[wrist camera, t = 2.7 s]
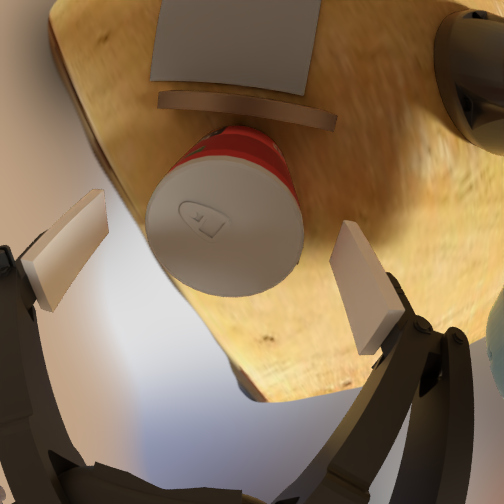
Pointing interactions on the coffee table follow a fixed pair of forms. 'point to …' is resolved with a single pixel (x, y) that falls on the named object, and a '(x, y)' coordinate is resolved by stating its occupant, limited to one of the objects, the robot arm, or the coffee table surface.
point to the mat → (236, 42)
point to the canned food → (227, 215)
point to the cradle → (247, 107)
